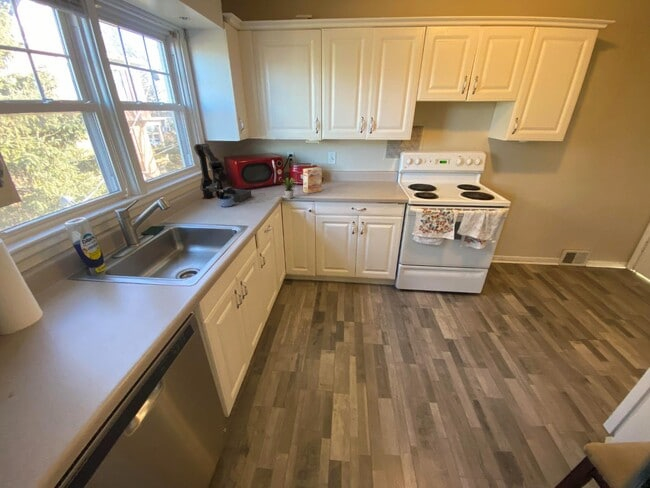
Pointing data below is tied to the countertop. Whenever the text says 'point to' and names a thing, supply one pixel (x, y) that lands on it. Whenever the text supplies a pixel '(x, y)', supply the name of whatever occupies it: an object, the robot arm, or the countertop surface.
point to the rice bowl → (226, 201)
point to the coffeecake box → (312, 180)
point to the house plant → (289, 188)
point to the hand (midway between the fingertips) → (220, 200)
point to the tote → (239, 194)
